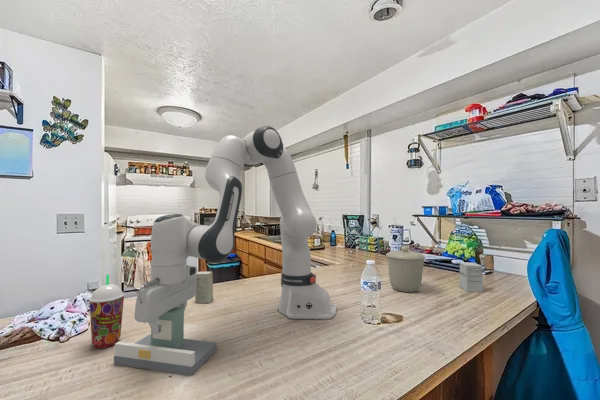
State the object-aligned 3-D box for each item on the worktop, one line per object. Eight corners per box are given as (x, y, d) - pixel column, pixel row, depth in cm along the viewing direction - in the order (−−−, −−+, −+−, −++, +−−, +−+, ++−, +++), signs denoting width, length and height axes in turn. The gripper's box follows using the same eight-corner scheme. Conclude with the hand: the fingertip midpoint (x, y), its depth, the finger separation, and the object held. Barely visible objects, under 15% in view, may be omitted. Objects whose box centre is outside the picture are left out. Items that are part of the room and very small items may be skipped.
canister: (432, 295, 123) (432, 248, 124) (392, 295, 124) (392, 248, 124) (416, 284, 142) (416, 243, 142) (381, 283, 142) (381, 243, 142)
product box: (173, 352, 71) (173, 313, 71) (150, 349, 72) (150, 311, 73) (183, 344, 75) (184, 307, 75) (161, 341, 77) (162, 305, 77)
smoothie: (96, 354, 73) (97, 280, 74) (82, 346, 78) (84, 275, 78) (129, 341, 80) (130, 273, 81) (115, 334, 85) (116, 270, 85)
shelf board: (217, 349, 76) (217, 331, 76) (191, 376, 64) (191, 354, 64) (149, 341, 81) (149, 324, 81) (113, 364, 69) (113, 344, 69)
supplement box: (459, 287, 136) (459, 261, 136) (475, 287, 135) (475, 262, 135) (466, 291, 129) (465, 265, 129) (483, 292, 128) (482, 265, 128)
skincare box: (213, 300, 116) (213, 271, 117) (208, 303, 112) (209, 273, 112) (198, 299, 117) (199, 270, 117) (194, 303, 113) (194, 273, 113)
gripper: (150, 285, 63) (150, 345, 63) (200, 266, 83) (200, 311, 83) (127, 284, 65) (127, 343, 64) (181, 265, 85) (181, 310, 84)
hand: (168, 325), depth 74 cm, fingers open, 8 cm apart
